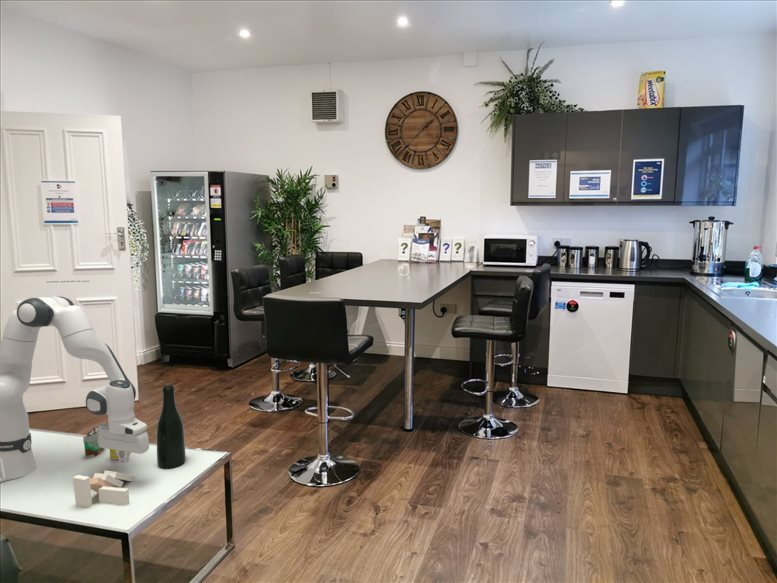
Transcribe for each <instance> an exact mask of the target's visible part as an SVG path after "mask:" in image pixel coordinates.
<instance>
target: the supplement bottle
mask: <svg viewBox="0 0 777 583" xmlns="http://www.w3.org/2000/svg"><path fill="white" fill-rule="evenodd" d="M122 452H123V455H124V456H125V454H124V451H122ZM109 460H110V462H112V463H118V462H120V461H119V457H118V455H117V454H116V450H113V449H109Z"/></svg>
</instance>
